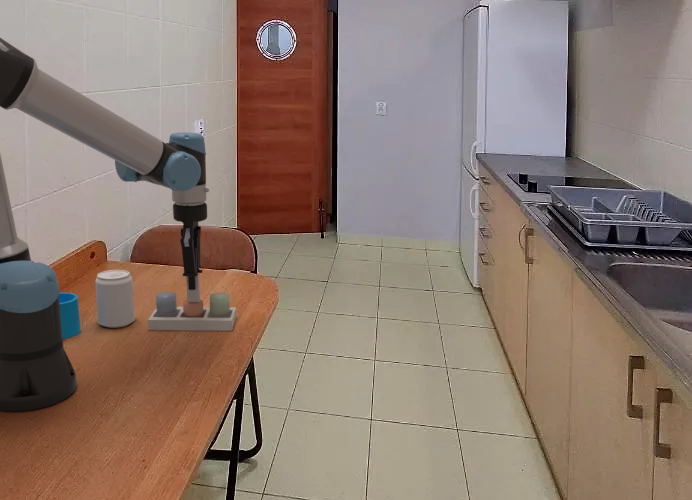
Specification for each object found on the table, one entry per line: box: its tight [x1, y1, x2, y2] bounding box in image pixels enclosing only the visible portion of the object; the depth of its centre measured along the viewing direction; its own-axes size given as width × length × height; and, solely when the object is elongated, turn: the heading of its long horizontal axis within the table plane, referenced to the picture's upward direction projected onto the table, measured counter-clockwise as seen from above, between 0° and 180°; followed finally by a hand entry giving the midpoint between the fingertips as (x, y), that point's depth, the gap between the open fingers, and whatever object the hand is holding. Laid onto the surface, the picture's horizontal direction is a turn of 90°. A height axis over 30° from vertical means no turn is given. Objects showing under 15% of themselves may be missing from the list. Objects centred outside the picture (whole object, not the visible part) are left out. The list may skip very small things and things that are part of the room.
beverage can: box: [94, 269, 135, 329], centre depth 153 cm, size 8×8×12 cm
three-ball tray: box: [147, 306, 237, 332], centre depth 155 cm, size 9×19×2 cm, turn 93°
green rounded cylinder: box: [209, 292, 231, 314], centre depth 154 cm, size 5×5×4 cm
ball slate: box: [155, 291, 178, 314], centre depth 154 cm, size 5×5×4 cm
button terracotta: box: [182, 299, 204, 318], centre depth 155 cm, size 5×5×4 cm
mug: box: [59, 292, 81, 340], centre depth 149 cm, size 12×8×8 cm
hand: (193, 301), depth 154 cm, fingers closed
